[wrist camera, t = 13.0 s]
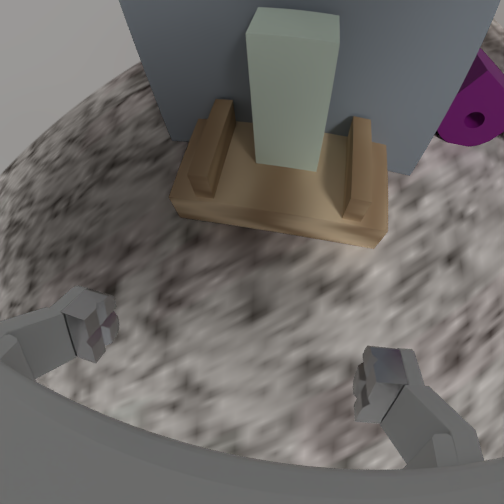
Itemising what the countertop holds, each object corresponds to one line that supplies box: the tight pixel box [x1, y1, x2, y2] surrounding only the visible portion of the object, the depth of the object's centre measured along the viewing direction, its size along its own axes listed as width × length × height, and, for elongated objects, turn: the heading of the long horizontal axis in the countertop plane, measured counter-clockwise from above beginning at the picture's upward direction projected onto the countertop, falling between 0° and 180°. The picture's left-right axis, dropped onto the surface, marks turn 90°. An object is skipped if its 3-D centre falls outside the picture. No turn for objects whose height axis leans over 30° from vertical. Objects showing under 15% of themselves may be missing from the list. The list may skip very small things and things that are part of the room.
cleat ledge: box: [169, 99, 388, 249], centre depth 21 cm, size 14×7×6 cm, turn 79°
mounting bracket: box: [437, 48, 504, 146], centre depth 24 cm, size 10×8×18 cm
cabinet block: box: [246, 7, 340, 172], centre depth 16 cm, size 4×3×10 cm
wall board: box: [119, 0, 500, 176], centre depth 17 cm, size 20×5×18 cm, turn 79°
